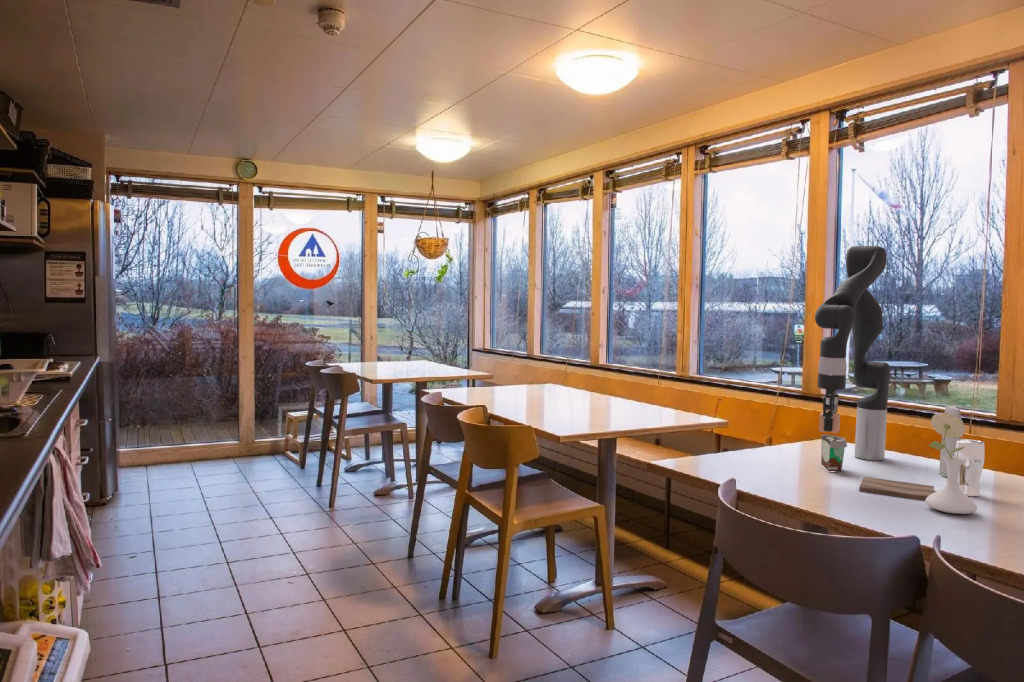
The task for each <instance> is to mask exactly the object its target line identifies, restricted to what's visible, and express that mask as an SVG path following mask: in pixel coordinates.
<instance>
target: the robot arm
mask: <svg viewBox="0 0 1024 682" xmlns="http://www.w3.org/2000/svg"><path fill="white" fill-rule="evenodd" d="M887 256H888V255H887V251H886V249H885V248H884V247H883V246H880V245H853V246H850V247H849V248H848V249H847V251H846V255H845V266H846V274H847V279H845V280H844V281H842V282H841V283H840V284H839V285H838V287H837V288H836V290H835V292H834V293H833V295H832V296H830V297H829V298H827V299H826V300H825V301H823V303H821V304H820V305H819V306H818V307H817V309H816V312H815V313H814V321H815V323H816V326H818V327H819V328H822V329H829V330H830V329H831V330H838V331H837V333H836V334H834V335H833V336H826V337H822V339H821V340H820V349H819V353H820V354H819V361H818V371H817V372H818V373H817V388H819V389H822V390H823V389H824V390H825V393H824V394H823V395H822V412H823V417H824V431H832V426H833V418H834V416H833V414H838V408H839V401H840V400H839V399H840V395H839V393H838V391H840V390H841V391H842V390H845V389H846V387H847V385H846V384H847V350H848V349H847V347H848V346H847V345H848V341H849V338H850V334H851V332H852V340H853V341H852V342H853V380H854V381H853V382H854V385H856V387H858V388H863V389H864V388H865V389H874V390H876V392H875V393H874V394H872V395H869V396H865V397H861V398H858V399H857V401H856V405H857V406H856V421H855V422H856V423H855V439H854V440H855V441H854V454H853V455H854V457H855V458H858V459H862V460H868V461H883V460H885V456H886V454H885V453H886V440H887V439H886V435H887V422H888V421H887V418H888V417H887V416H888V400H889V388H890V382H891V381H890V379H891V367H890V364H889V363H888V362H884V361H870V360H869V361H868V360H866V354H867V353H868V351H869V349H870V347H871V346H872V345H873V343H875V341H877V339H878V337H879V336H880V334H881V333H882V331H883V328H884V326H883V325H884V322H883V320H884V319H883V309H882V307H881V305H880V303H879V301H877V299H876V298H875V297H874V296H873V295H872V293H871V292H870V291H869V290H868V289H869V287H870V286H871V285H872V284H874V282H875V281H876V280H877V279H878V278H879V277H880V276H881V275H882V273H883V272H884V271H885V268H886V267H887V260H888V259H887V258H888V257H887ZM851 330H852V331H851Z"/></svg>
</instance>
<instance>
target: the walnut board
mask: <svg viewBox="0 0 1024 682" xmlns="http://www.w3.org/2000/svg"><path fill="white" fill-rule="evenodd" d="M858 488H859V489H858V491H859V492H863V491H866V492H865V493H869V492H873V493H872V494H876V493H879V495H883V494H886V495H885V496H890V495H893V496H892V497H897V496H899V497H898V498H904V497H906V499H911V498H912V499H913V500H918V499H919V500H920V501H925V500H926V498H927V497H928V496H929V495H931V494H933V493H934V492H935V486H934V485H929V484H921V483H920V484H919V483H913V482H905V481H897V480H890V479H883V478H877V477H876V478H875V477H868V476H863V477H862V480H861V483H860V485H859V487H858Z"/></svg>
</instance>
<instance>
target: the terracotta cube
mask: <svg viewBox="0 0 1024 682" xmlns="http://www.w3.org/2000/svg"><path fill="white" fill-rule="evenodd" d="M833 416H834V418H833V426H832V431H824V417H823V411H822V412H821V413H820V414H819V417H818V418H819V423H818V432H821V433H822V432H823V433H831V434H839V432H840V429H841V428H840V426H841V425H840V424H841V413H837V414H833Z"/></svg>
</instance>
